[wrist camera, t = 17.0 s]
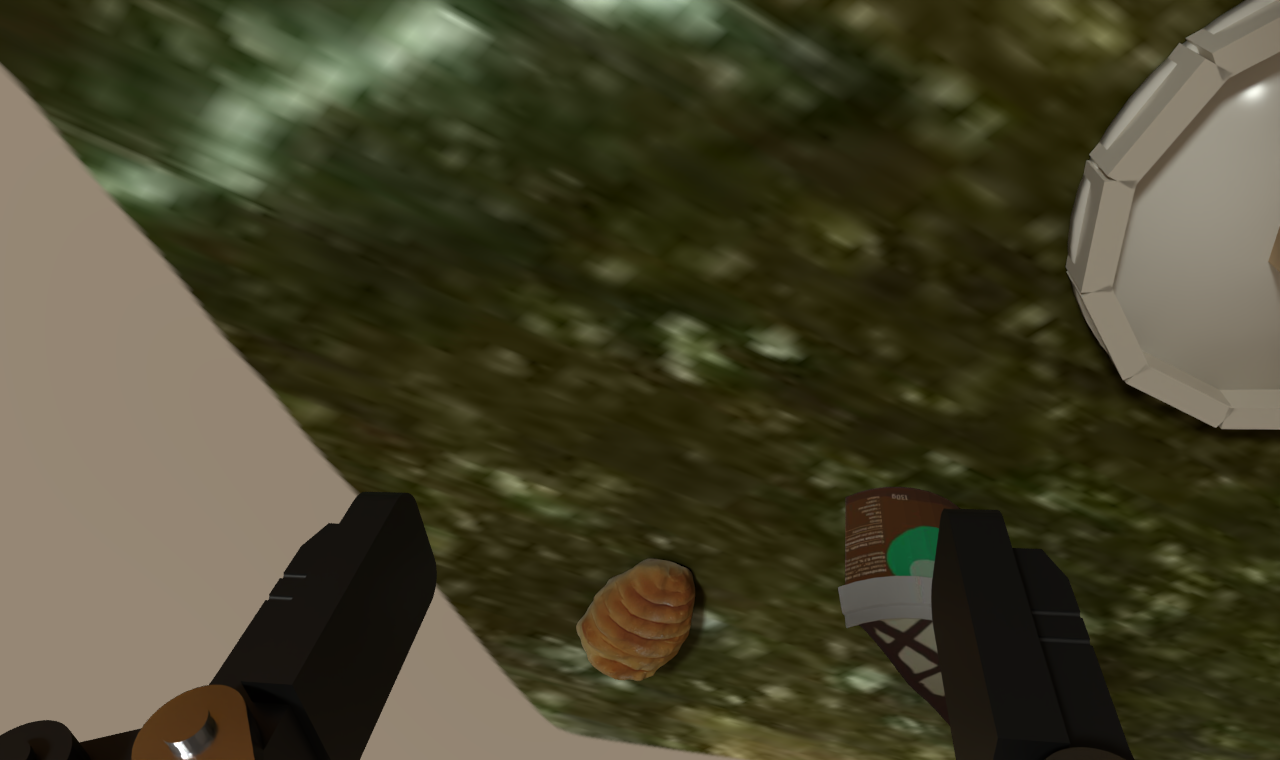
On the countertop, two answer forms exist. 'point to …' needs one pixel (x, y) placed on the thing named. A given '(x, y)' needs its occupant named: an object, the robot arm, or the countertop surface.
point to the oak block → (1276, 253)
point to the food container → (896, 580)
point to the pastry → (639, 619)
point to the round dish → (1191, 226)
